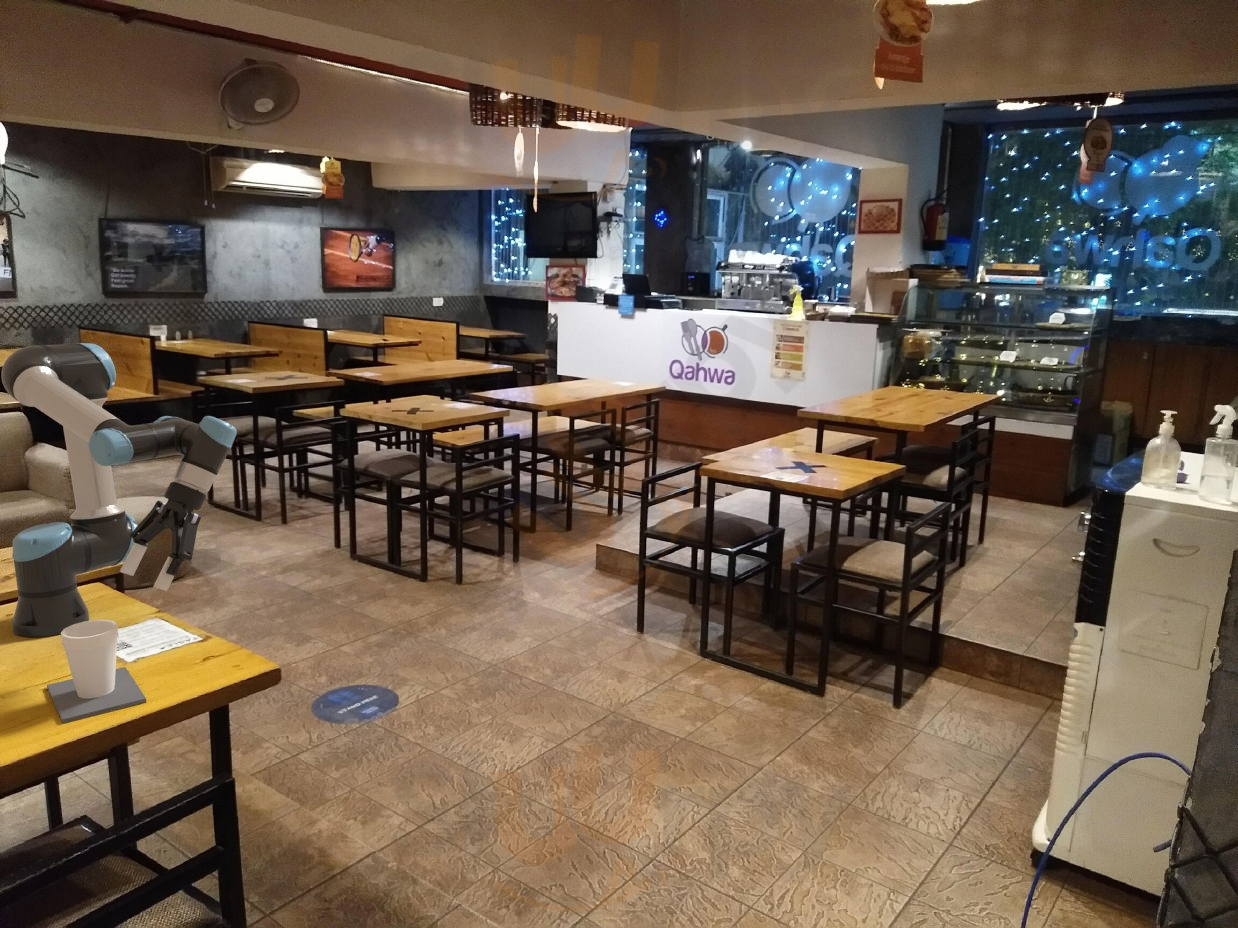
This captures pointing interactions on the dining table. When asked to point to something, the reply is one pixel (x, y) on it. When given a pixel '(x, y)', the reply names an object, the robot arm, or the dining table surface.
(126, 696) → the rubber mat
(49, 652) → the dining table surface
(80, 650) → the foam cup
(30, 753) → the dining table surface
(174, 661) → the dining table surface
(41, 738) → the dining table surface
